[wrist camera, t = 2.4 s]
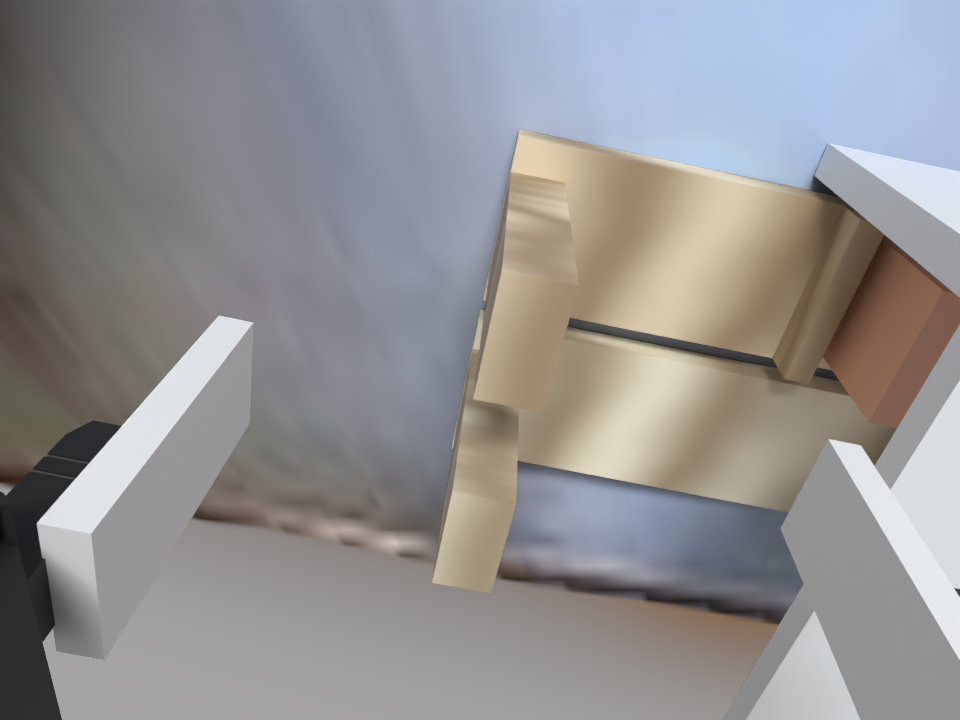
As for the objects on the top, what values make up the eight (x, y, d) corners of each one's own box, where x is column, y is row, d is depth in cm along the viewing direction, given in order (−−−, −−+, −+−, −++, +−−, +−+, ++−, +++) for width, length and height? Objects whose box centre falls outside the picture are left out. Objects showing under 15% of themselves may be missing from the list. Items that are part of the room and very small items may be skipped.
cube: (818, 350, 29) (868, 422, 25) (876, 233, 26) (943, 291, 22) (937, 374, 29) (1007, 449, 25) (1006, 260, 27) (1098, 322, 22)
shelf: (668, 511, 35) (725, 751, 25) (828, 143, 26) (1023, 278, 16) (865, 549, 36) (1003, 800, 25) (1090, 199, 26) (1450, 366, 16)
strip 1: (484, 287, 30) (465, 434, 21) (518, 129, 26) (512, 223, 18) (948, 381, 31) (1117, 559, 22) (1037, 238, 27) (1277, 380, 18)
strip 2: (454, 432, 34) (426, 608, 25) (480, 309, 30) (459, 460, 21) (867, 511, 34) (982, 708, 26) (936, 400, 31) (1097, 582, 22)
